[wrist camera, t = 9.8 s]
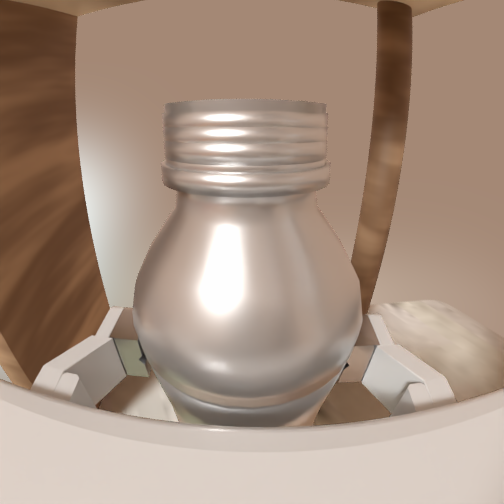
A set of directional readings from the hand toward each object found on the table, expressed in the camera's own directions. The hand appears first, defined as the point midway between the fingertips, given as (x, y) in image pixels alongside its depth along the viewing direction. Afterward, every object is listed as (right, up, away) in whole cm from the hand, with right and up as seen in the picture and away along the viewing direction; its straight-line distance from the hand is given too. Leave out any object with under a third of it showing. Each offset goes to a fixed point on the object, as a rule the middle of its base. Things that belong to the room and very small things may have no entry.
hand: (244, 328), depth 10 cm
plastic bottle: (0, -12, +5) cm, 13 cm away
